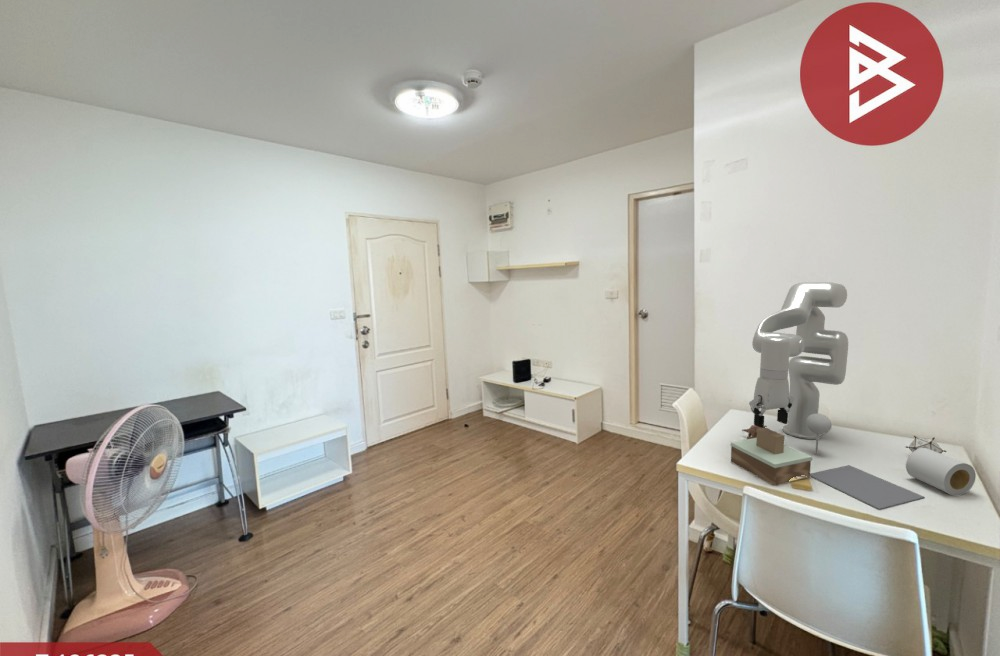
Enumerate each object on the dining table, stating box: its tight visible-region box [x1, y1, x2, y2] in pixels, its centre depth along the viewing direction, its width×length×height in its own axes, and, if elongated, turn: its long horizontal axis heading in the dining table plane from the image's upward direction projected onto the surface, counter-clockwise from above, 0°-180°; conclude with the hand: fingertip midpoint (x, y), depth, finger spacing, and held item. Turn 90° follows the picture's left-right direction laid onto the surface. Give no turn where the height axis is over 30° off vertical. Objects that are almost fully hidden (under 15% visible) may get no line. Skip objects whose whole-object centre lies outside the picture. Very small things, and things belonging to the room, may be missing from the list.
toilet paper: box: [905, 448, 977, 497], centre depth 119 cm, size 10×10×10 cm
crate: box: [730, 445, 812, 486], centre depth 134 cm, size 15×17×6 cm
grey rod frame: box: [905, 435, 948, 454], centre depth 135 cm, size 9×8×10 cm
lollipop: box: [806, 413, 833, 455], centre depth 142 cm, size 7×7×15 cm
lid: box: [730, 427, 813, 468], centre depth 133 cm, size 15×17×8 cm
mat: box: [810, 464, 925, 511], centre depth 122 cm, size 18×20×1 cm
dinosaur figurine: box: [741, 424, 769, 439], centre depth 153 cm, size 14×6×9 cm, turn 173°
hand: (770, 424), depth 132 cm, fingers open, 9 cm apart
